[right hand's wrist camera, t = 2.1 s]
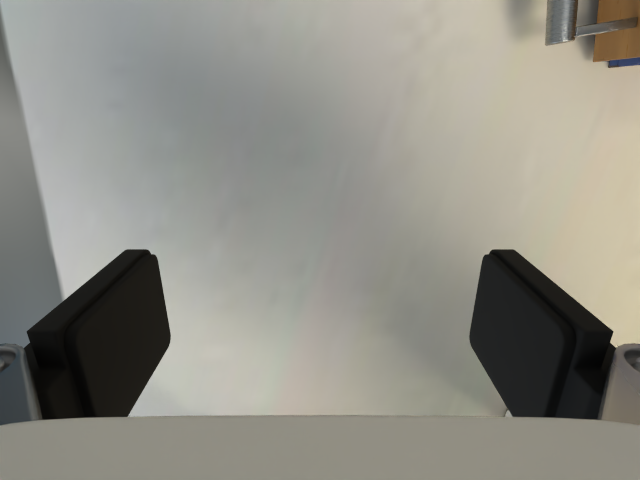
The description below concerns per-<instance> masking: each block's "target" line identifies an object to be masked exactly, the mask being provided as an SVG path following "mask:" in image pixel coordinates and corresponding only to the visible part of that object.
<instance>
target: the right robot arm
mask: <svg viewBox="0 0 640 480" xmlns="http://www.w3.org/2000/svg"><path fill="white" fill-rule="evenodd" d="M27 334H28V337H29V340H30V343H29V344H28V345H27V346H26V347H25V348H23V347H22V346H19V345H17V344H6V343H5V344H0V480H640V344H635V343H634V344H623V345H621V346H618V347H617V348H615V347H614V346H613V345H612V344H611V343H610V340H611V337H612V334H613V331H612V330H611V329H610V328H608V327H607V326H606V325H605V324H604V323H602V322H601V321H600V320H599V319H598V318H596V317H595V316H594V315H593V314H591V313H590V312H589V311H588V310H587V309H585V308H584V307H583V306H582V305H581V304H579V303H578V302H577V301H576V300H575V299H573V298H572V297H571V296H570V295H568V294H567V293H566V292H565V291H564V290H562V289H561V288H560V287H559V286H558V285H556V284H555V283H554V282H553V281H552V280H550V279H549V278H548V277H547V276H545V275H544V274H543V273H542V272H541V271H539V270H538V269H537V268H536V267H535V266H533V265H532V264H531V263H530V262H528V261H527V260H526V259H525V258H524V257H522V256H521V255H520V254H519V253H518V252H516V251H515V250H491V251H490V253H489V254H487V255H484V257H483V260H482V265H481V271H480V276H479V282H478V288H477V294H476V300H475V305H474V311H473V317H472V323H471V329H470V335H469V337H470V344H471V347H472V349H473V350H474V352H475V354H476V355H477V357H478V359H479V360H480V362H481V364H482V366H483V367H484V369H485V371H486V372H487V374H488V376H489V377H490V379H491V381H492V383H493V384H494V386H495V388H496V389H497V391H498V393H499V394H500V396H501V398H502V400H503V401H504V403H505V405H506V406H507V408H508V410H507V412H506V414H505V417H488V416H372V415H268V416H152V417H127V416H128V415H129V413H130V411H131V410H132V408H133V406H134V405H135V403H136V401H137V400H138V398H139V396H140V394H141V393H142V391H143V389H144V388H145V386H146V384H147V383H148V381H149V379H150V377H151V376H152V374H153V372H154V371H155V369H156V367H157V366H158V364H159V362H160V360H161V359H162V357H163V355H164V354H165V352H166V350H167V349H168V347H169V344H170V337H171V335H170V329H169V323H168V317H167V311H166V305H165V300H164V294H163V288H162V282H161V276H160V271H159V265H158V260H157V257H156V255H153V254H151V253H150V251H149V250H125V251H124V252H122V253H121V254H120V255H119V256H118V257H116V258H115V259H114V260H113V261H111V262H110V263H109V264H108V265H107V266H105V267H104V268H103V269H102V270H101V271H99V272H98V273H97V274H96V275H95V276H93V277H92V278H91V279H90V280H88V281H87V282H86V283H85V284H84V285H82V286H81V287H80V288H79V289H78V290H76V291H75V292H74V293H73V294H72V295H70V296H69V297H68V298H67V299H65V300H64V301H63V302H62V303H61V304H59V305H58V306H57V307H56V308H55V309H53V310H52V311H51V312H50V313H49V314H47V315H46V316H45V317H44V318H43V319H41V320H40V321H39V322H38V323H36V324H35V325H34V326H33V327H32V328H30V329H29V330H28V331H27Z"/></svg>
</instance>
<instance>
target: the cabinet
mask: <svg viewBox="0 0 640 480" xmlns="http://www.w3.org/2000/svg"><path fill="white" fill-rule="evenodd" d="M632 65H640V57H637V58H627V59H618V60H610V64H609V67H608V68H611V67H621V66H632Z"/></svg>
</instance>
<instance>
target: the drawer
mask: <svg viewBox="0 0 640 480" xmlns="http://www.w3.org/2000/svg"><path fill="white" fill-rule="evenodd" d="M577 7H578V0H548V2H547V20H546V37H545V45H546V46H548V45H554V44H560V43H566V42H571V41H574V40H575V37H581V36H587V35H594V34H596V35H595V46H594V56H593V62H599V61H609V60H618V59H627V58H637V57H640V0H599V5H598V15H597V23H596V24H590V25H584V26H578V27H576V20H577Z"/></svg>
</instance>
